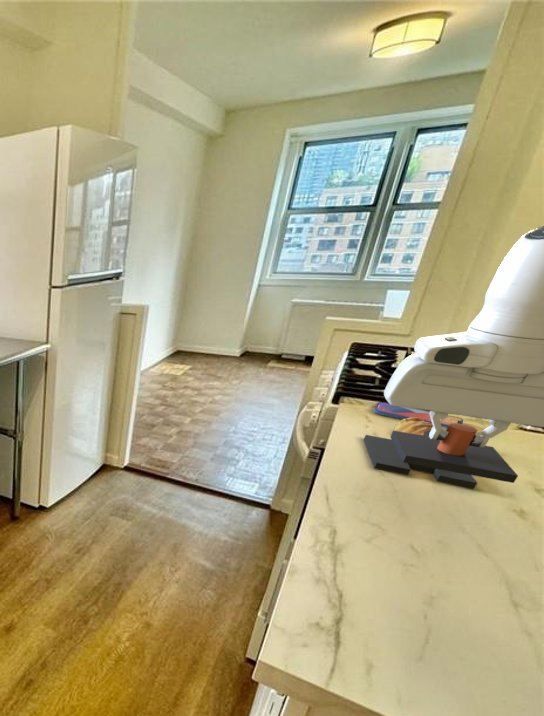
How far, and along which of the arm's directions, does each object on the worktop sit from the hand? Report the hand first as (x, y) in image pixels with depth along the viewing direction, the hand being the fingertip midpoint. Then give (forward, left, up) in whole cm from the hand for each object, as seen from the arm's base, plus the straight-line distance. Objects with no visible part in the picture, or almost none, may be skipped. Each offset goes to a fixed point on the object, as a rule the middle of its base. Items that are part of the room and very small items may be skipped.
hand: (454, 442), depth 73 cm
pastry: (-7, -35, -13) cm, 38 cm away
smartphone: (-9, -49, -13) cm, 51 cm away
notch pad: (-4, -22, -13) cm, 26 cm away
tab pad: (0, -1, -3) cm, 3 cm away
